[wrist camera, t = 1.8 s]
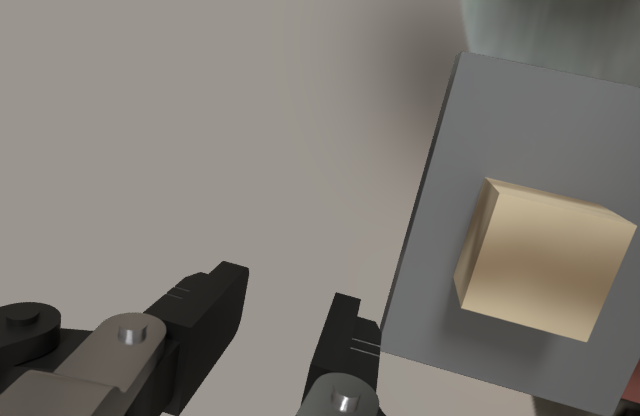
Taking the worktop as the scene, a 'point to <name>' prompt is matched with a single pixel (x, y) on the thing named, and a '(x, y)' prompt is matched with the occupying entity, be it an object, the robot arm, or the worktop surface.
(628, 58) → the worktop surface
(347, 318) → the robot arm
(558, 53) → the worktop surface
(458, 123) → the trap deck
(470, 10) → the worktop surface
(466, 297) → the maple block
